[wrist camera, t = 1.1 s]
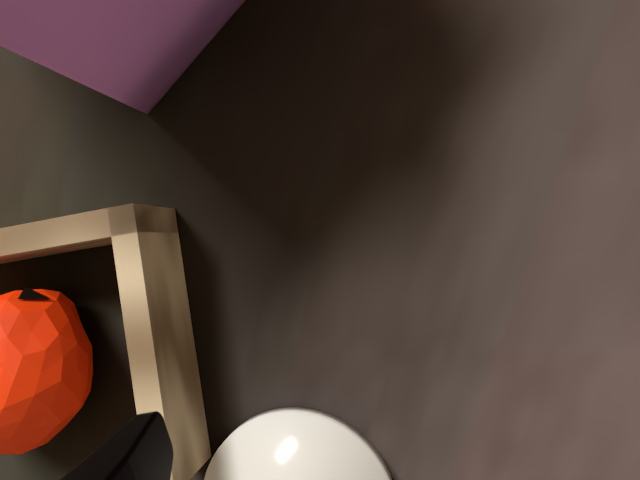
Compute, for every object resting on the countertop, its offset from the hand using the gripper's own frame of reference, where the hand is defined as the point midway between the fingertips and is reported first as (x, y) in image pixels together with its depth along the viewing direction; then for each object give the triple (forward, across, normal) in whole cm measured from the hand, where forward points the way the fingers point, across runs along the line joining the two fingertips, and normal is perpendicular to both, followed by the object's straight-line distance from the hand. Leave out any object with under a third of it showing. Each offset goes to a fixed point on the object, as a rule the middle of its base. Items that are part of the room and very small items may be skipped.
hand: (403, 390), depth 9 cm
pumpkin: (+14, +16, +6) cm, 22 cm away
